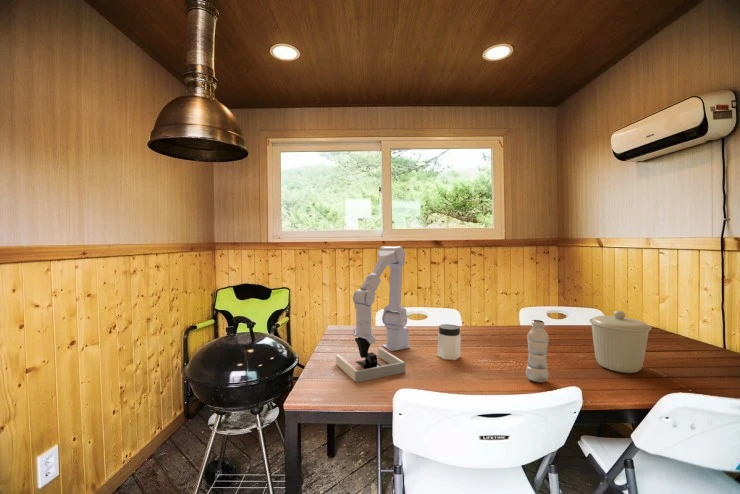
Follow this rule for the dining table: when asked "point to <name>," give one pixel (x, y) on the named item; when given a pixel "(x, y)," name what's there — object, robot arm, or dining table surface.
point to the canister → (619, 342)
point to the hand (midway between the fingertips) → (363, 357)
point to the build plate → (369, 361)
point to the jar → (449, 342)
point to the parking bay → (376, 372)
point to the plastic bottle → (537, 352)
